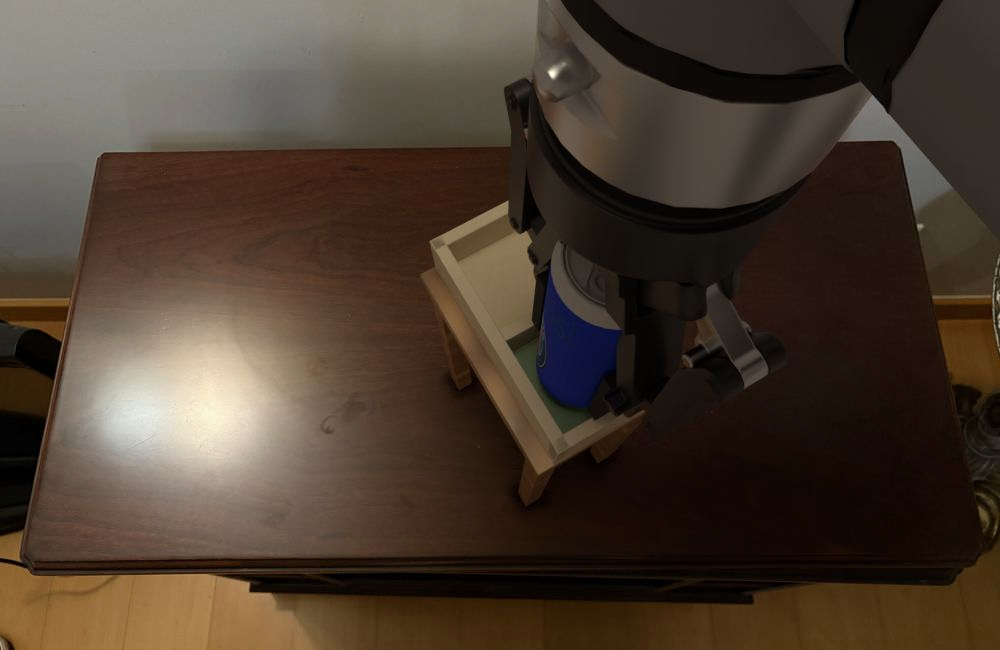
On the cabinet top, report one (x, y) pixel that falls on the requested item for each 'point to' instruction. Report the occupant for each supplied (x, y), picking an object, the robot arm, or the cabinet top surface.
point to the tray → (511, 324)
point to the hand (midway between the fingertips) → (583, 357)
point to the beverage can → (575, 330)
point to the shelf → (505, 392)
